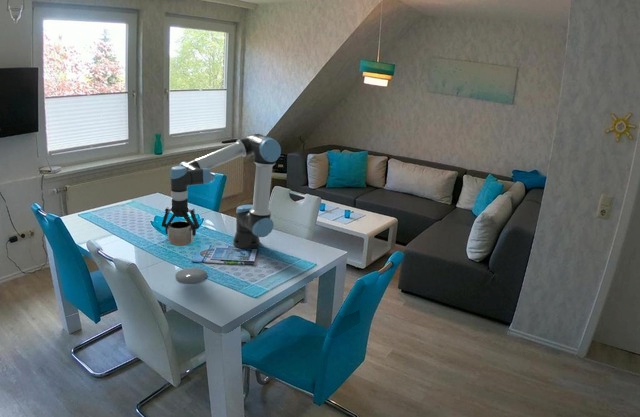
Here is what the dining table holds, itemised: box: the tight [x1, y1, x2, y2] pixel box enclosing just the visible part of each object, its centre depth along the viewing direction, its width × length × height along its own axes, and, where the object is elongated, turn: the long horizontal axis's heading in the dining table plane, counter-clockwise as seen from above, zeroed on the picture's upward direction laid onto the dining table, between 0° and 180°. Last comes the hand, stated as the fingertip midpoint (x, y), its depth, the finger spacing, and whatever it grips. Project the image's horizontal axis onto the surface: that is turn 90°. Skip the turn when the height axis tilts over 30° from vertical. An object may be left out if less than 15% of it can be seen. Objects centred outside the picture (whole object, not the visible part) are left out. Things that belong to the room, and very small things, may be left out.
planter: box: [168, 220, 192, 247], centre depth 247 cm, size 11×11×10 cm
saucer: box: [174, 267, 208, 284], centre depth 247 cm, size 15×15×1 cm
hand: (181, 240), depth 248 cm, fingers closed on planter, 11 cm apart
